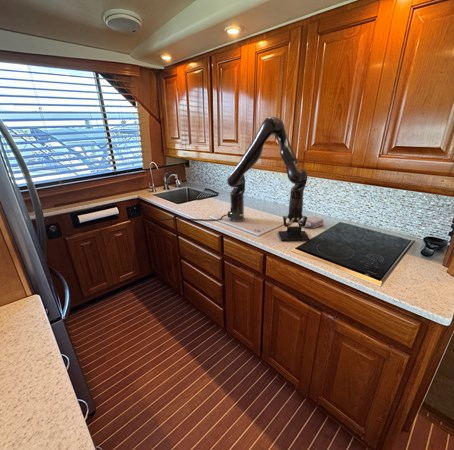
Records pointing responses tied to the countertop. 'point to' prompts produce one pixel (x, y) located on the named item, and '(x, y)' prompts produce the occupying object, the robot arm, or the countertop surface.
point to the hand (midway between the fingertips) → (293, 232)
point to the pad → (294, 230)
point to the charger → (314, 222)
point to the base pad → (293, 236)
